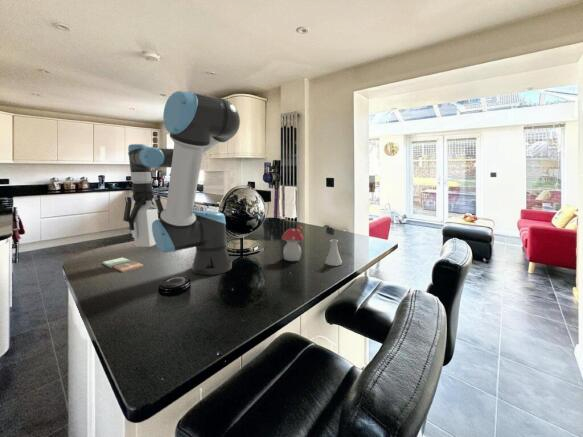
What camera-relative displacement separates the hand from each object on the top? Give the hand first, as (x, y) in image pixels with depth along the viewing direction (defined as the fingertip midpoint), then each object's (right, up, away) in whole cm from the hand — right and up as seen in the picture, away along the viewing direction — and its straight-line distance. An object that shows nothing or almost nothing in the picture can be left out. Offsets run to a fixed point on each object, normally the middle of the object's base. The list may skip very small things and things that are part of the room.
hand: (147, 235), depth 127 cm
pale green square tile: (-12, -12, -1) cm, 17 cm away
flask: (+79, -12, -2) cm, 80 cm away
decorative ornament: (+62, -11, +3) cm, 63 cm away
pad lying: (-4, -13, -7) cm, 15 cm away
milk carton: (0, -4, +1) cm, 4 cm away
